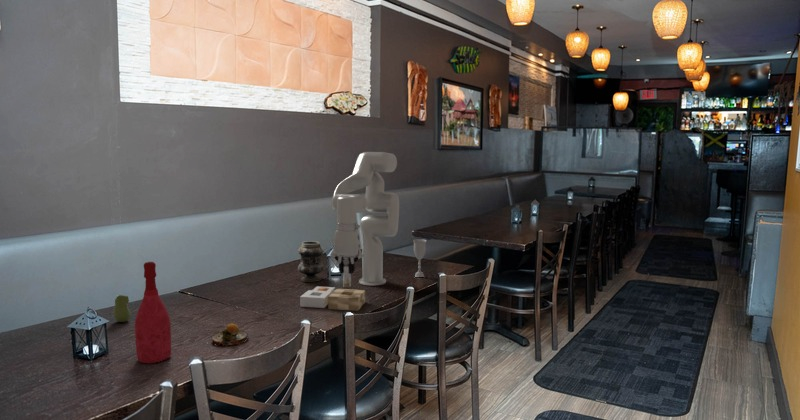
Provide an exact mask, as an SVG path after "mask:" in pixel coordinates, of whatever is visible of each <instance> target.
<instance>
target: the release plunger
mask: <svg viewBox="0 0 800 420" xmlns="http://www.w3.org/2000/svg"><path fill="white" fill-rule="evenodd" d="M320 287H321V288H319V291H327V288H326V287H327V286H320Z"/></svg>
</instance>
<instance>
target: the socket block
mask: <svg viewBox="0 0 800 420" xmlns="http://www.w3.org/2000/svg"><path fill="white" fill-rule="evenodd" d="M321 287H322V286H318V285H317V286H315V287H314V288H313V289H312V290H311V289H308V290H307V291H306V292H304V293H303V294H302V295H300V296H299V298H300V299H299V301H300V303H299V305H300V306H299V307H303V308H320V309H325V308H326V307H328V296H330V295H331V294H332V293H333V292H334V291H335V290H336V287H335V286H334V287H333V286H332V287H331V286H325V287H326V288H327V291H319V288H321Z"/></svg>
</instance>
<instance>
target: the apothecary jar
mask: <svg viewBox="0 0 800 420" xmlns="http://www.w3.org/2000/svg"><path fill="white" fill-rule="evenodd" d="M297 252H298V254H299V255H300V263H299V264H298V266H297V271H299V273H301V274H304V275H305V276H303V277H300V279H299V280H300V281H301V282H306V283H314V282H318V281H321V280H322V277H321V276H319V275H317V274H320V273H322V272H323V270H324V264H323V263H322V254H323V253H324V248H323V246H321V243H320V242H319V241H315V240H306V241H302V242H301V246H299V248H298V251H297Z"/></svg>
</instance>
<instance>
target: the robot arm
mask: <svg viewBox="0 0 800 420" xmlns="http://www.w3.org/2000/svg"><path fill="white" fill-rule="evenodd" d="M397 159H398V158H397V157H396V155H395V154H394V153H389V152H385V151H364V152H361V153H360V154H359V155H358V156H357V158H356V162H355V165H354V167H353V170H352V173H351V175H349V176H348V177H346V178H345V179H343V180H342V181H340V183H338V185H337V186H336V188H335V189H334V192H333V194H332V197H331V207H332V210H333V211H335V212H336V230H335V232H334V239H333V249H332V251H331V253H330V254H329V256H330V257H331V258H333V259H335V261H336V262H337V263H338V270H339V272H340V274H343V257H344V256H350V258H351V264H350V274H351V275H353V273H354V272H355V268H356V266H355V265H356V264H355V263H356V262H357V261H359V259H361V262H362V263H361V266H362V268H361V269H362V271H361V275H362V276H361V278H360V279H358V283H359V284H360V285H364V286H371V287H373V286H376V287H377V286H381V285H385V284H386V283H387V279H386V278H385V277H384V276H383V275H384V274H383V273H384V272H383V271H384V269H383V268H384V267H383V265H384V264H383V263H384V262H383V261H384V255H383V254H384V253H383V250H384V247H383V243H382V241H381V239H380V238H379V237H388V238H391V237H396V236H397V234H398V231H399V219H400V218H399V217H400V216H399V215H400V199H399V196H398V194H397V193H395V192H389V191H388V192H385V180H384V178H383V176H382V175H381V174H380V173H393V172H394V171H395V170H396V168H397V166H398V160H397ZM364 188H365V194H364V195H363V194H359V193H358V194H357V193H351V192H355V191H358V190H362V189H364ZM365 210H366V211H367V212H369V213H377V214H379V213H380V214H387V215H375V214H373V215H372V214H369V215H365V216H363V217H361V219H360V222H359V224H357V213H358V214H361V213H363V212H364V211H365ZM358 229H360V233H359V230H358ZM360 234H361V241H360ZM361 246H362V248H361ZM383 277H384V278H383Z"/></svg>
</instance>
